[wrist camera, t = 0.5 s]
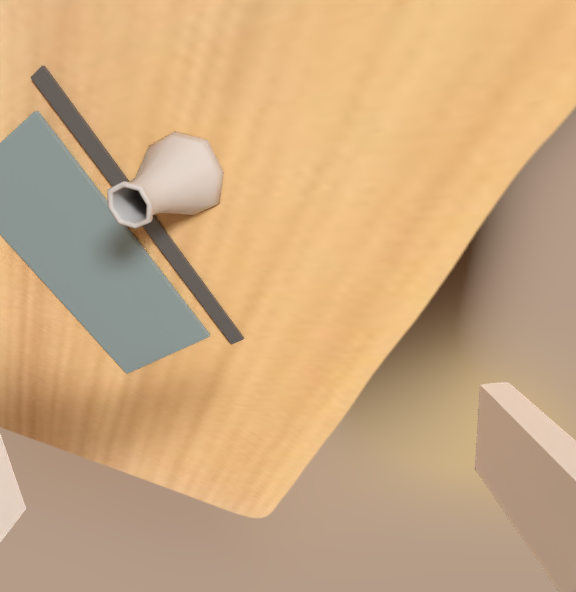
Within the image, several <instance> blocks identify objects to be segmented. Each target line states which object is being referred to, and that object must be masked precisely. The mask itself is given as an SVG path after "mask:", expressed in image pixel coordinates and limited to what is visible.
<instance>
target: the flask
mask: <svg viewBox="0 0 576 592" xmlns="http://www.w3.org/2000/svg"><path fill="white" fill-rule="evenodd" d="M223 173H224V172H223V170H222V168H221V166H220V164H219V162H218V160H217V158H216V156H215V154H214V152H213V150H212V148H211V146H210V144H209V142H208V140H205V139H202V138H198V137H194V136H190V135H186V134H183V133H179V132H173V133H172V134H170V135H168V136H166V137H164V138H162V139H160V140H158V141H157V142H155V143H153V144H151V145H149V146H148V149H147V151H146V154H145V156H144V159H143V162H142V164H141V166H140V168H139V171H138V173H137V175H136V177H135V178H134V179H133V180H132V181H131V182H126V181H123V182H121V183H119V184H117V185H115V186H113V187H112V188H110V189H108V208H109V210H110V212H111V213H112V215H113V216H114V218H115V219H116V221H117V223H118V224H120V225H123V226H127V227H131V228H134V229H137V228H139V227H141V226H143V225H145V224H148V223H150V222H152V220H153V215H154V214H158V213H177V214H187V215H195V214H197V213H199V212H202V211H204V210H206V209H209V208H211V207H213V206H215V205H218V204H220V197H221V189H222V181H223Z"/></svg>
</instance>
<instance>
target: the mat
mask: <svg viewBox="0 0 576 592" xmlns="http://www.w3.org/2000/svg"><path fill="white" fill-rule="evenodd" d="M0 235H1V236H2V237H3V238H4V239H5V240H6V242H7V243H8V244H9V245H10V246H11V247H12V248H13V249H14V250H15V251H16V253H17V254H18V255H19V256H20V257H21V258H22V259H23V260H24V261H25V262H26V264H27V265H28V266H29V267H30V268H31V269H32V270H33V271H34V272H35V273H36V275H37V276H38V277H39V278H40V279H41V280H42V281H43V282H44V283H45V284H46V286H47V287H48V288H49V289H50V290H51V291H52V292H53V293H54V294H55V295H56V297H57V298H58V299H59V300H60V301H61V302H62V303H63V304H64V305H65V306H66V308H67V309H68V310H69V311H70V312H71V313H72V314H73V315H74V316H75V318H76V319H77V320H78V321H79V322H80V323H81V324H82V325H83V326H84V327H85V329H86V330H87V331H88V332H89V333H90V334H91V335H92V336H93V337H94V338H95V340H96V341H97V342H98V343H99V344H100V345H101V346H102V347H103V348H104V349H105V351H106V352H107V353H108V354H109V355H110V356H111V357H112V358H113V359H114V360H115V362H116V363H117V364H118V365H119V366H120V367H121V368H122V369H123V370H124V371H125V373H126V374H128V373H130V372H132V371H134V370H136V369H139V368H141V367H143V366H145V365H148V364H150V363H152V362H154V361H156V360H159V359H161V358H163V357H165V356H168V355H170V354H172V353H174V352H176V351H179V350H181V349H183V348H185V347H188V346H190V345H192V344H194V343H197V342H199V341H201V340H203V339H205V338H208V337H209V335H210V334H209V333H208V331H207V330H206V329H205V327H204V326H203V325H202V323H201V322H200V321H199V320H198V318H197V317H196V316H195V314H194V313H193V312H192V310H191V309H190V308H189V307H188V305H187V304H186V303H185V301H184V300H183V299H182V297H181V296H180V295H179V294H178V292H177V291H176V290H175V288H174V287H173V286H172V284H171V283H170V282H169V281H168V279H167V278H166V277H165V275H164V274H163V273H162V271H161V270H160V269H159V268H158V266H157V265H156V264H155V262H154V261H153V260H152V258H151V257H150V256H149V255H148V253H147V252H146V251H145V249H144V248H143V247H142V245H141V244H140V243H139V242H138V240H137V239H136V238H135V236H134V235H133V234H132V232H131V231H130V230H129V229H128V227H127V226H123V225H120V224H118V223H117V221H116V219H115V218H114V216H113V215H112V213H111V212H110V210H109V208H108V201H107V200H106V199H105V197H104V196H103V195H102V193H101V192H100V191H99V190H98V188H97V187H96V186H95V184H94V183H93V182H92V180H91V179H90V178H89V177H88V175H87V174H86V173H85V171H84V170H83V169H82V167H81V166H80V165H79V164H78V162H77V161H76V160H75V158H74V157H73V156H72V154H71V153H70V152H69V151H68V149H67V148H66V147H65V145H64V144H63V143H62V141H61V140H60V139H59V138H58V136H57V135H56V134H55V132H54V131H53V130H52V128H51V127H50V126H49V125H48V123H47V122H46V121H45V119H44V118H43V117H42V116H41V114H40V113H39V112H38V111H36V112H33V113H32V114H31V115H30V116H29V117H28V118H27V119H26V120H25V121H24V122H23V123H22V124H20V125H19V126H18V127H17V128H16V129H15V130H14V131H13V132H12V133H11V134H10V135H9V136H8V137H7V138H5V139H4V140H3V141H2V142H1V143H0Z"/></svg>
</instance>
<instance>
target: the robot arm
mask: <svg viewBox="0 0 576 592" xmlns="http://www.w3.org/2000/svg"><path fill="white" fill-rule="evenodd" d="M475 470H476V471H477V473H478V474H479V476H480V477H481V478H482V480H483V481H484V483H485V484H486V486H487V487H488V489H489V490H490V492H491V493H492V495H493V496H494V498H495V499H496V500H497V502H498V503H499V505H500V506H501V508H502V509H503V511H504V512H505V514H506V515H507V516H508V518H509V520H510V521H511V522H512V524H513V525H514V527H515V528H516V530H517V531H518V533H519V534H520V535H521V537H522V538H523V540H524V541H525V543H526V544H527V546H528V547H529V549H530V550H531V552H532V553H533V554H534V556H535V557H536V559H537V560H538V562H539V563H540V565H541V566H542V568H543V569H544V570H545V572H546V573H547V575H548V577H549V578H550V579H551V581H552V582H553V584H554V585H555V587H556V588H557V590H558V591H559V592H576V441H575V440H574V439H573V438H572V437H571V436H569V435H568V434H567V433H566V432H565V431H564V430H563V429H561V428H560V427H559V426H558V425H557V424H556V423H554V422H553V421H552V420H551V419H550V418H549V417H548V416H546V415H545V414H544V413H543V412H542V411H541V410H540V409H538V408H537V407H536V406H535V405H534V404H533V403H532V402H530V401H529V400H528V399H527V398H526V397H524V395H522V394H521V393H520V392H519V391H518V390H517V389H516V388H514V387H513V386H512V385H511V384H510V383H509V382H503V383H491V384H482V385H480V392H479V409H478V426H477V443H476V460H475ZM25 510H26V507H25V504H24V501H23V498H22V495H21V492H20V489H19V487H18V483H17V480H16V478H15V475H14V472H13V469H12V466H11V463H10V460H9V457H8V454H7V451H6V448H5V445H4V443H3V439H2V437H1V434H0V542H1V541H2V539H3V538H4V537H5V535H6V534H7V533H8V531H9V530H10V529H11V528H12V526H13V525H14V524H15V522H16V521H17V520H18V519H19V517H20V516H21V515H22V513H23V512H24V511H25Z"/></svg>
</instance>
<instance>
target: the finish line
mask: <svg viewBox="0 0 576 592" xmlns="http://www.w3.org/2000/svg"><path fill="white" fill-rule="evenodd" d="M31 79H32V80H33V81H34V83H35V84H36V85H37V87H38V88H39V89H40V91H41V92H42V93H43V95H44V96H45V97H46V99H47V100H48V101H49V103H50V104H51V105H52V107H53V108H54V109H55V111H56V112H57V113H58V115H59V116H60V117H61V119H62V120H63V121H64V123H65V124H66V125H67V127H68V128H69V129H70V131H71V132H72V133H73V135H74V136H75V137H76V139H77V140H78V141H79V143H80V144H81V145H82V146H83V148H84V149H85V150H86V152H87V153H88V154H89V156H90V157H91V158H92V160H93V161H94V162H95V164H96V165H97V166H98V168H99V169H100V170H101V172H102V173H103V174H104V176H105V177H106V178H107V180H108V181H109V182H110V184H111V185H112V186H115V185H117V184H119V183H121V182H123V181H126V182H129V180H128V179H127V178H126V176H125V175H124V174H123V172H122V171H121V169H120V168H119V167H118V165H117V164H116V163H115V161H114V160H113V159H112V157H111V156H110V154H109V153H108V152H107V150H106V149H105V148H104V146H103V145H102V144H101V142H100V141H99V139H98V138H97V137H96V135H95V134H94V133H93V131H92V130H91V129H90V127H89V126H88V124H87V123H86V122H85V120H84V119H83V118H82V116H81V115H80V114H79V112H78V111H77V109H76V108H75V107H74V105H73V104H72V103H71V101H70V100H69V99H68V97H67V96H66V94H65V93H64V92H63V90H62V89H61V88H60V86H59V85H58V83H57V82H56V81H55V79H54V78H53V77H52V75H51V74H50V73H49V71H48V70H47V68H46V67H45V66H42V67H41V68H40V69H39V70H38V71H37V72H36V73H35V74H33V75H32V76H31ZM143 227H144V229H145V230H146V231H147V233H148V234H149V235H150V237H151V238H152V239H153V241H154V242H155V243H156V245H157V246H158V247H159V249H160V250H161V251H162V253H163V254H164V255H165V257H166V258H167V259H168V261H169V262H170V263H171V265H172V266H173V267H174V269H175V270H176V271H177V273H178V274H179V275H180V277H181V278H182V279H183V281H184V282H185V283H186V285H187V286H188V287H189V289H190V290H191V291H192V293H193V294H194V295H195V297H196V298H197V299H198V301H199V302H200V303H201V304H202V306H203V307H204V308H205V310H206V311H207V312H208V314H209V315H210V316H211V318H212V319H213V320H214V322H215V323H216V324H217V326H218V327H219V328H220V330H221V331H222V332H223V334H224V335H225V336H226V338H227V339H228V340H229V342H230V343H231V344H234V343H236V342H238V341H241V340H243V339H244V337H243V336H242V335H241V333H240V332H239V330H238V329H237V328H236V326H235V325H234V324H233V322H232V321H231V320H230V318H229V317H228V315H227V314H226V313H225V311H224V310H223V309H222V307H221V306H220V305H219V303H218V302H217V300H216V299H215V298H214V296H213V295H212V294H211V292H210V291H209V290H208V288H207V287H206V285H205V284H204V283H203V281H202V280H201V279H200V277H199V276H198V275H197V273H196V272H195V270H194V269H193V268H192V266H191V265H190V264H189V262H188V261H187V259H186V258H185V257H184V255H183V254H182V253H181V251H180V250H179V249H178V247H177V246H176V244H175V243H174V242H173V240H172V239H171V238H170V236H169V235H168V234H167V232H166V231H165V229H164V228H163V227H162V225H161V224H160V223H159V221H158V220H157V219H156V217H155V216H154V215H153V220H152V222H150V223H148V224H145V225H143Z"/></svg>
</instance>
